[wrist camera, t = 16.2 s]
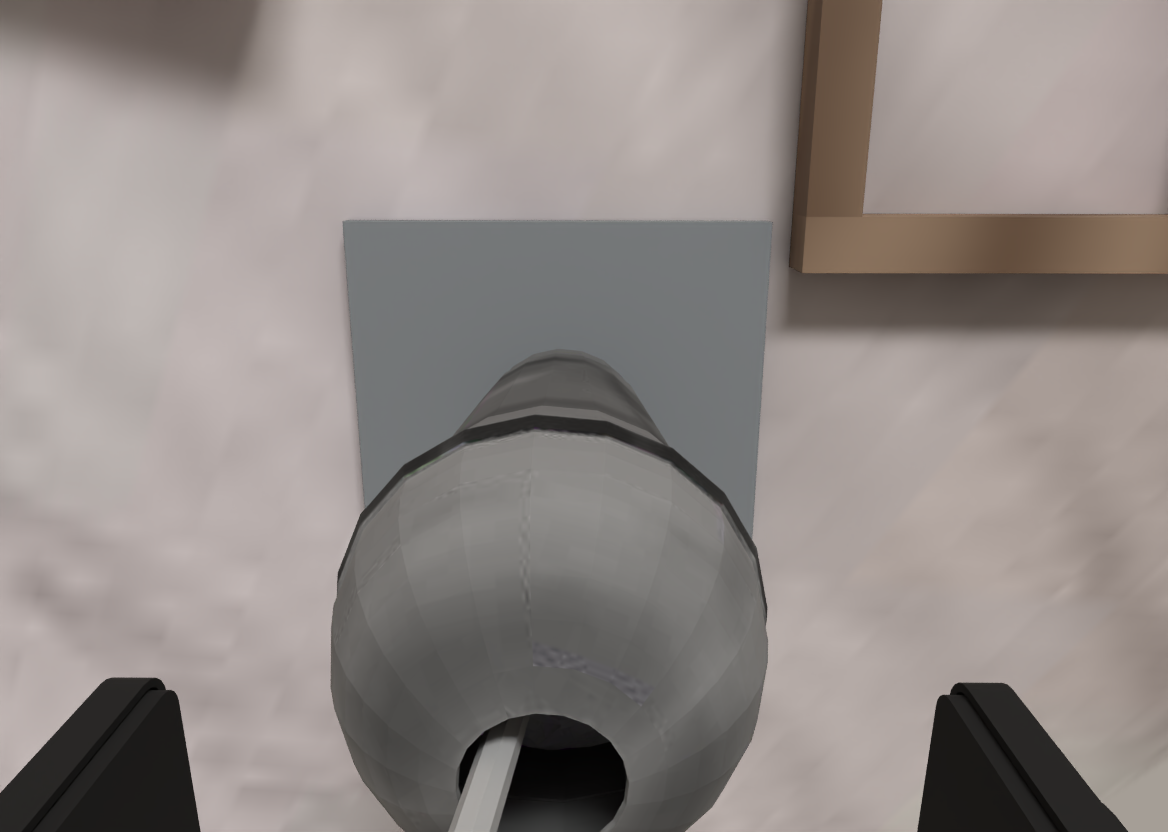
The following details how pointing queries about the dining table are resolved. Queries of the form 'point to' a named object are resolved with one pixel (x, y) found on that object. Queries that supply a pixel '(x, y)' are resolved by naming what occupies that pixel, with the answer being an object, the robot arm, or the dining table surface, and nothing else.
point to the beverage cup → (549, 620)
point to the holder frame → (921, 241)
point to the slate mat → (560, 328)
